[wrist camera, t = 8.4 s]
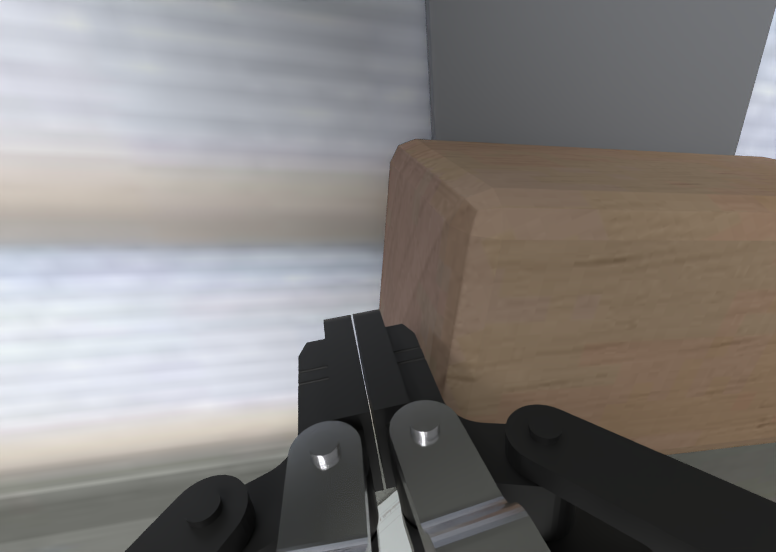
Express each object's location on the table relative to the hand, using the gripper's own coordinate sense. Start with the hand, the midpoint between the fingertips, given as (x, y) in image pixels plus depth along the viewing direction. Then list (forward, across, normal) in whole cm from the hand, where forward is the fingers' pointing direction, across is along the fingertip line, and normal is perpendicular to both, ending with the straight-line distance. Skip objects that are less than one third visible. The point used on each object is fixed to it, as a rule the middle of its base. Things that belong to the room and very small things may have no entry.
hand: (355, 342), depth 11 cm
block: (+4, -2, +1) cm, 5 cm away
